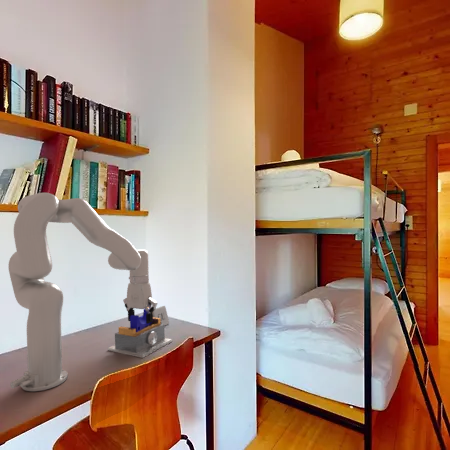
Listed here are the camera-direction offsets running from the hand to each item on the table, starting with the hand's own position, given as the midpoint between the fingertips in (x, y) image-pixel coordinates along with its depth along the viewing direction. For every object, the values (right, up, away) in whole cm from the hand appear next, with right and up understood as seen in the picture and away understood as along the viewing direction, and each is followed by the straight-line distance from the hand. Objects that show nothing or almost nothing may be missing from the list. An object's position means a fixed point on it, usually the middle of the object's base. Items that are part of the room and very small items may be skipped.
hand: (140, 321), depth 128 cm
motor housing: (0, -10, 0) cm, 10 cm away
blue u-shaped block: (0, -2, 0) cm, 2 cm away
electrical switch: (+2, -11, +26) cm, 28 cm away
